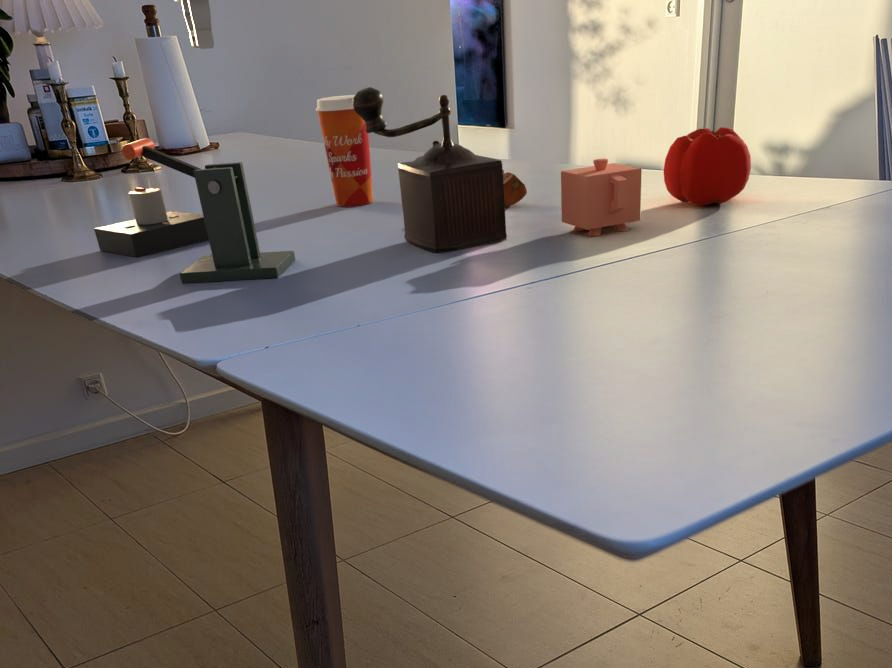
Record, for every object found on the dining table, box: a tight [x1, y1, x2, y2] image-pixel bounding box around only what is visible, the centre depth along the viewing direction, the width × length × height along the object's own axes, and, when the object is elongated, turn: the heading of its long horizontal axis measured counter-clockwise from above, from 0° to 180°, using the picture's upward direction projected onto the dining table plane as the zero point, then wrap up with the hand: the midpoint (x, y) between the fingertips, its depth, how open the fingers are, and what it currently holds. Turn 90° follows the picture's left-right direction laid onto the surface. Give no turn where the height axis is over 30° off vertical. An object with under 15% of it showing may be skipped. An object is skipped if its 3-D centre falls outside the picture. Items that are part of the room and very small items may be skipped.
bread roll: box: [503, 169, 528, 207], centre depth 136 cm, size 8×7×5 cm
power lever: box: [121, 137, 238, 183], centre depth 108 cm, size 12×6×2 cm, turn 86°
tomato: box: [663, 127, 752, 207], centre depth 126 cm, size 11×12×9 cm
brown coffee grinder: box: [353, 86, 508, 254], centre depth 114 cm, size 16×11×18 cm
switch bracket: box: [179, 161, 296, 284], centre depth 111 cm, size 12×9×12 cm
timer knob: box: [128, 187, 168, 225], centre depth 129 cm, size 4×4×4 cm
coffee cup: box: [315, 94, 374, 208], centre depth 145 cm, size 8×8×15 cm
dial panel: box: [93, 210, 209, 258], centre depth 132 cm, size 13×10×3 cm
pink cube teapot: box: [560, 158, 642, 237], centre depth 117 cm, size 8×12×8 cm, turn 24°
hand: (203, 48), depth 106 cm, fingers open, 8 cm apart
